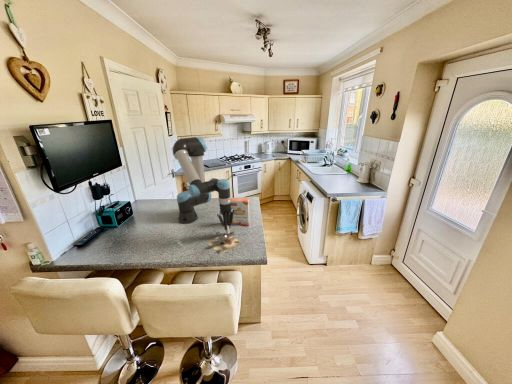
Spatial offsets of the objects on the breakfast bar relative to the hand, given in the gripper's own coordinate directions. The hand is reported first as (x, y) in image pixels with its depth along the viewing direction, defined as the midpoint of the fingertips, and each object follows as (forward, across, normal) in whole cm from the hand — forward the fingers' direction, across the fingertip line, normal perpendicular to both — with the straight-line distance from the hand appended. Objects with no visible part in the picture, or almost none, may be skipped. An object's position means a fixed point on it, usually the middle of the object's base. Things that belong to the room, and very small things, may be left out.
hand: (227, 233), depth 139 cm
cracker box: (+3, +17, +7) cm, 19 cm away
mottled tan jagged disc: (+3, -7, -6) cm, 9 cm away
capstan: (+2, -7, -6) cm, 9 cm away
